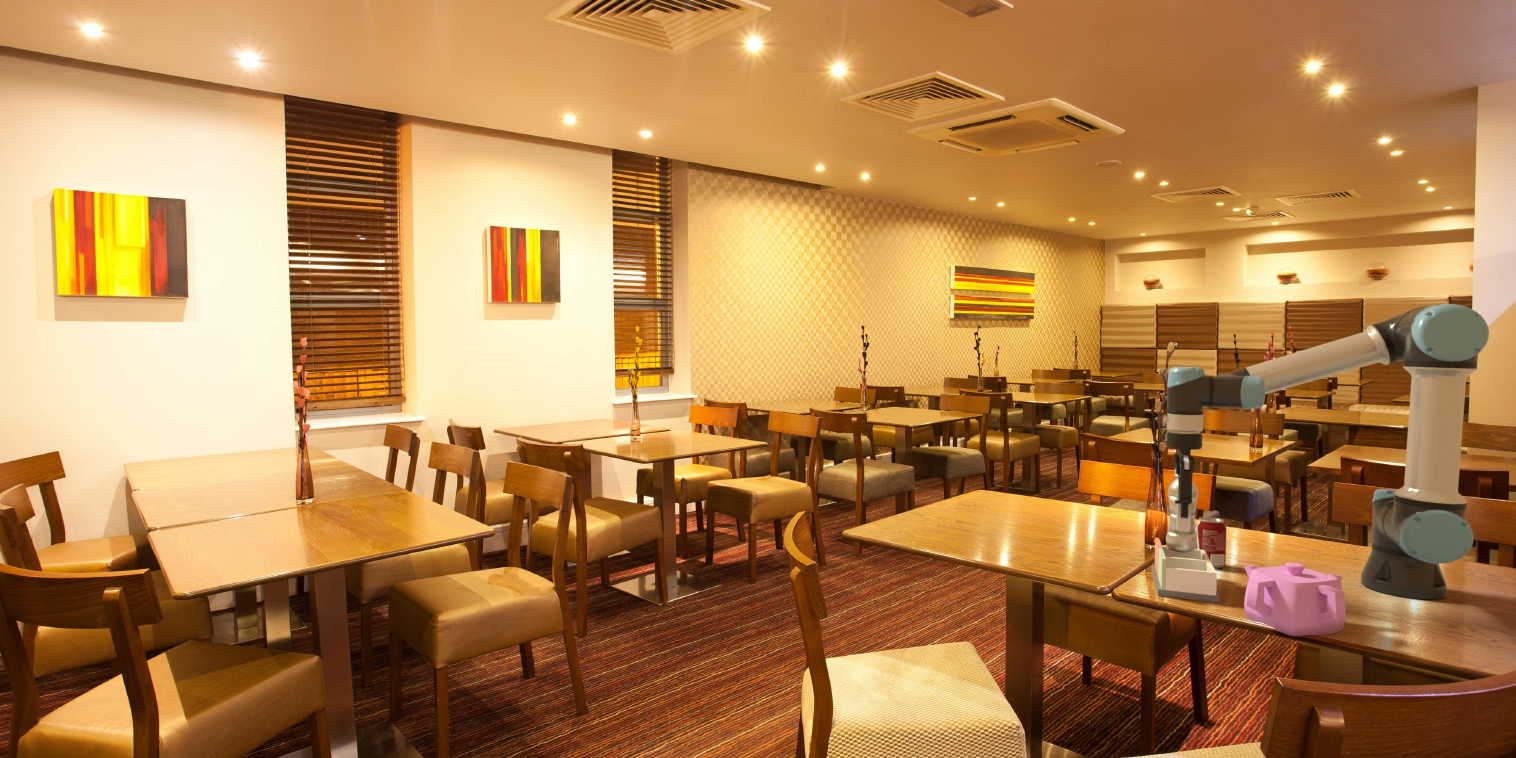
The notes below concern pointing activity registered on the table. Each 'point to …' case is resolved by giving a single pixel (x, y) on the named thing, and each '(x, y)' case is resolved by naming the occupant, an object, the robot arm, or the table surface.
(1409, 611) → the table surface
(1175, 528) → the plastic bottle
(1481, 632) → the table surface
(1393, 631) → the table surface
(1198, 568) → the socket board
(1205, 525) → the soda can
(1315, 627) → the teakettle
